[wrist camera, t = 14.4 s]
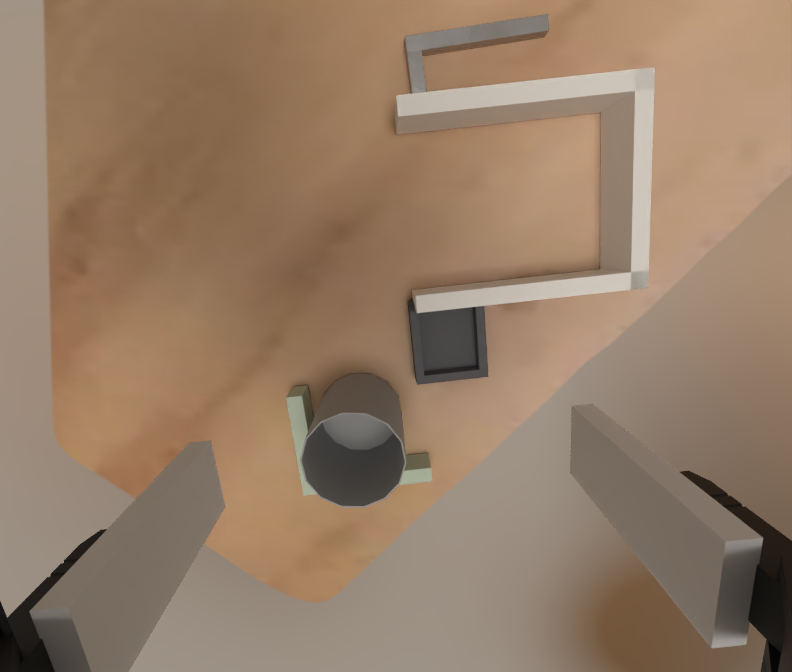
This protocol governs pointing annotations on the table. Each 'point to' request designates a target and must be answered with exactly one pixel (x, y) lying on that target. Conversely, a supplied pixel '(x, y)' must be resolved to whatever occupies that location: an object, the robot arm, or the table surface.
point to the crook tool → (467, 42)
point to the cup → (355, 442)
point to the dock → (300, 425)
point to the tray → (448, 344)
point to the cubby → (619, 173)
